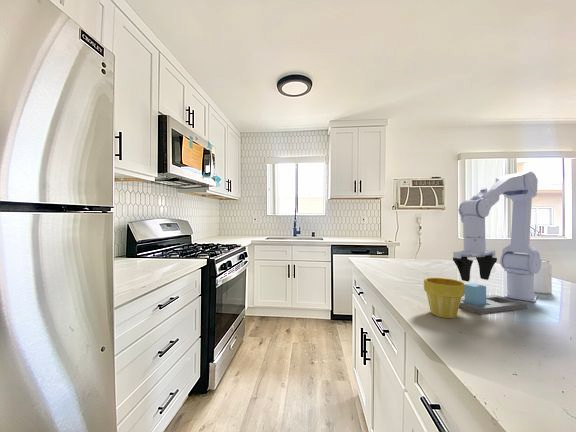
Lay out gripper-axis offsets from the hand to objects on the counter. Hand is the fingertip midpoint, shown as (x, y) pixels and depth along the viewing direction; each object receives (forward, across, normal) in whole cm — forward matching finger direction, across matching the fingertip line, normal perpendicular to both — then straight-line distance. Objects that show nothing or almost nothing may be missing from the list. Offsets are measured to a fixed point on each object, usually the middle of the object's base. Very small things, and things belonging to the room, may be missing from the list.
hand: (475, 280), depth 83 cm
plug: (+9, 0, 0) cm, 9 cm away
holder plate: (+9, +5, 0) cm, 10 cm away
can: (+9, +40, +8) cm, 41 cm away
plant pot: (+9, -15, -2) cm, 17 cm away
